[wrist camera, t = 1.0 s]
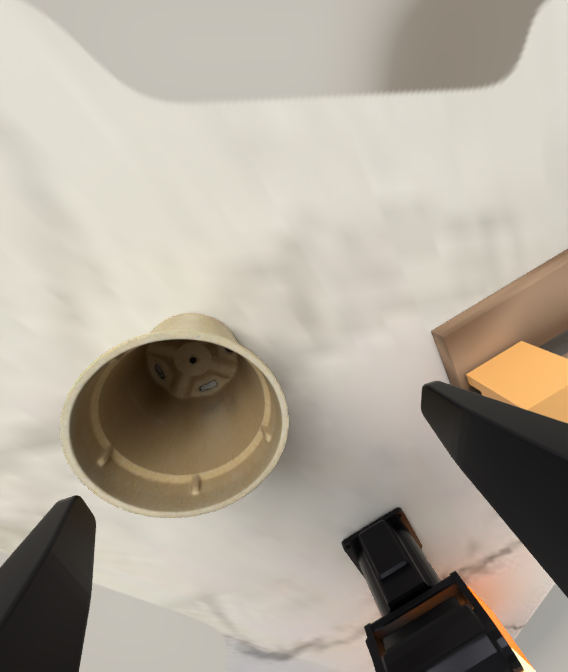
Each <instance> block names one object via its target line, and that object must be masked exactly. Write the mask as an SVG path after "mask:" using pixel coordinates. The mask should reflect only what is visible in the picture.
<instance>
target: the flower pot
mask: <svg viewBox="0 0 568 672" xmlns="http://www.w3.org/2000/svg"><path fill="white" fill-rule="evenodd" d="M225 347H226V348H228V349H230V350H232V352H231V353H229V352H227V351H226V349H225ZM191 357H195V358H196V362H195V363H191V362H190V358H191ZM156 365H159V367H160V368H161V370H164V371H163V374H164V376H165V378H164V379H162V378H161V377H160V376H159V374H158V373H157V371H156V368H155V367H156ZM213 380H214V381H216V383H217V385H216V386H215V387H214V388H210V389H206V390H204V391H201V390H200V387H201V386H203V385H205V384H207V383H210V382H212V381H213ZM288 430H289V413H288V407H287V403H286V400H285V396H284V393H283V391H282V388H281V386H280V384H279V382H278V381H277V379H276V377H275V376H274V374H273V373H272V372H271V370H270V369H269V368H268V367H267V365H266V364H265V363H264V362H263V361H262V360H261V359H260V358H259V357H257V356H256V355H255V354H253V353H252V352H251V351H249V350H248V349H246V348H245V347H243V346H241V345H240V344H238V342H237V340H236V338H235V336H234V335H233V333H232V332H231V331H230V330H229V329H228V328H227V327H226V326H225V325H224V324H223V323H221V322H220V321H218V320H216V319H214V318H211V317H208V316H205V315H201V314H196V313H189V314H181V315H176V316H173V317H171V318H168V319H166V320H165V321H163V322H162V323H160V324H159V325H158V326H157V327H155V328H154V329H153V330H152V331H151V332H150V333H149V334H145V335H142V336H139V337H136V338H133V339H130V340H128V341H125V342H123V343H121V344H119V345H117V346H115V347H114V348H112V349H110V350H109V351H107V352H106V353H104V354H103V355H102V356H100V357H99V358H98V359H97V360H95V361H94V362H93V363H92V364H91V365H90V366H89V367H88V368H87V369H86V370H85V371H84V372H83V373H82V374H81V375H80V377H79V378H78V379H77V381H76V382H75V384H74V385H73V387H72V388H71V390H70V392H69V393H68V396H67V399H66V401H65V404H64V407H63V411H62V415H61V421H60V436H61V444H62V447H63V451H64V454H65V457H66V459H67V461H68V464H69V465H70V467H71V469H72V471H73V473H74V474H75V475H76V476H77V477H78V479H79V480H80V482H81V483H83V484H84V485H85V486H87V488H88V489H89V490H91V491H92V492H93V493H94V494H96V495H97V496H99V497H100V498H102V499H103V500H105V501H106V502H108V503H110V504H112V505H114V506H116V507H117V508H121V509H123V510H126V511H129V512H133V513H135V514H141V515H144V516H150V517H160V518H181V517H191V516H198V515H201V514H206V513H209V512H213V511H216V510H219V509H221V508H224V507H226V506H228V505H230V504H232V503H234V502H235V501H237V500H239V499H240V498H242V497H244V496H245V495H247V494H248V493H250V492H251V491H252V490H254V489H255V488H256V487H257V486H258V485H259V484H260V483H261V482H262V480H263V479H265V478H266V477H267V476H268V475H269V473H270V472H271V471H272V470H273V468H274V467H275V466H276V464H277V463H278V461H279V459H280V457H281V455H282V452H283V450H284V447H285V445H286V441H287V436H288Z"/></svg>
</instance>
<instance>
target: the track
mask: <svg viewBox="0 0 568 672" xmlns="http://www.w3.org/2000/svg"><path fill="white" fill-rule="evenodd" d="M431 332H432V335H433V338H434V340H435V343H436V346H437V348H438V351H439V354H440V356H441V359H442V362H443V364H444V367H445V370H446V372H447V375H448V378H449V381H450V383H451V385H453V386H456V387H459V388H462V389H465V390H468V391H471V392H474V393H477V394H480V395H482V393H481V391H479V390H478V389H476V388H475V387H473V386H471V385H470V384H469V382H468V379H467V376H466V374H467V373H469V372H471V371H472V370H474V369H476V368H477V367H479V366H481V365H482V364H484V363H486V362H487V361H489V360H490V359H492V358H494V357H495V356H497V355H499V354H500V353H502V352H504V351H505V350H507V349H509V348H510V347H512V346H514V345H515V344H517V343H519V342H520V341H523V342H526V343H528V344H531V345H533V346H536V347H539V348H541V349H544V350H546V351H549V352H551V353H554V354H557V355H559V356H562V357H564V358H567V359H568V249H567V250H565V251H563V252H562V253H560V254H558V255H557V256H555V257H553V258H552V259H550V260H549V261H547V262H545V263H544V264H542V265H540V266H539V267H537V268H535V269H534V270H532V271H530V272H529V273H527V274H525V275H524V276H522V277H520V278H519V279H517V280H515V281H514V282H512V283H510V284H509V285H507V286H505V287H504V288H502V289H500V290H499V291H497V292H495V293H494V294H492V295H490V296H489V297H487V298H485V299H484V300H482V301H480V302H479V303H477V304H475V305H474V306H472V307H470V308H469V309H467V310H465V311H464V312H462V313H461V314H459V315H457V316H456V317H454V318H452V319H451V320H449V321H447V322H446V323H444V324H442V325H441V326H439V327H437V328H436V329H434V330H432V331H431Z"/></svg>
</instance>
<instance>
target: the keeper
mask: <svg viewBox="0 0 568 672" xmlns="http://www.w3.org/2000/svg"><path fill="white" fill-rule="evenodd" d="M466 376H467V379H468V382H469V384H470V385H471V386H473V387H475V388H476V389H478V390H479V391H481V393H482V395H483V396H486V397H489V398H492V399H495V400H498V401H501V402H504V403H507V404H510V405H514V406H517V407H520V408H523V409H526V410H529V411H532V412H535V413H538V414H541V415H544V416H547V417H550V418H553V419H556V420H559V421H562V422H565V423H568V359H567V358H564V357H562V356H559V355H557V354H554V353H551V352H549V351H546V350H544V349H541V348H539V347H536V346H533V345H531V344H528V343H526V342H523V341H520V342H519V343H517V344H515V345H514V346H512V347H510V348H509V349H507V350H505V351H504V352H502V353H500V354H499V355H497V356H495V357H494V358H492V359H490V360H489V361H487V362H486V363H484V364H482V365H481V366H479V367H477V368H476V369H474V370H472V371H471V372H469V373H467V374H466Z"/></svg>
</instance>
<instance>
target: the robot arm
mask: <svg viewBox="0 0 568 672" xmlns="http://www.w3.org/2000/svg"><path fill="white" fill-rule="evenodd" d="M421 411H422V413H423V415H424V417H425V419H426V420H427V422H428V423H429V424H430V426H431V427H432V429H433V430H434V432H435V433H436V435H437V436H438V438H439V439H440V441H441V442H442V444H443V445H444V447H445V448H446V450H447V451H448V453H449V454H450V455H451V457H452V458H453V460H454V461H455V462H456V464H457V465H458V466H459V467H460V469H461V470H462V471H463V472H464V473H465V475H466V476H467V477H468V478H469V480H470V481H471V482H472V483H473V484H474V486H475V487H476V488H477V489H478V490H479V492H480V493H481V494H482V495H483V496H484V498H485V499H486V500H487V501H488V502H489V504H490V505H491V506H492V507H493V508H494V510H495V511H496V512H497V513H498V514H499V516H500V517H501V518H502V519H503V520H504V522H505V523H506V524H507V525H508V526H509V528H510V529H511V530H512V531H513V532H514V534H515V535H516V536H517V537H518V538H519V540H520V541H521V542H522V543H523V544H524V546H525V547H526V548H527V549H528V551H529V552H530V553H531V554H532V555H533V557H534V558H535V559H536V560H537V561H538V563H539V564H540V565H541V566H542V567H543V569H544V570H545V571H546V572H547V573H548V575H549V576H550V577H551V578H552V579H553V581H554V582H555V583H556V584H557V585H558V587H559V588H560V589H561V590H562V591H563V593H564V594H565V595H566V596H567V597H568V423H565V422H562V421H559V420H556V419H553V418H550V417H547V416H544V415H541V414H538V413H535V412H532V411H529V410H526V409H523V408H520V407H517V406H514V405H510V404H507V403H504V402H501V401H498V400H495V399H492V398H489V397H486V396H483V395H480V394H477V393H474V392H471V391H468V390H465V389H462V388H459V387H456V386H453V385H450V384H447V383H444V382H440V381H433V382H430V383H427V384H425V385H423V387H422V396H421ZM95 533H96V521H95V518H94V515H93V514H92V512H91V511H90V509H89V508H88V506H87V505H86V503H85V502H84V501H83V499H82V498H81V497H80V496H78V495H77V496H72V497H69V498H66V499H62V500H60V501H58V502H57V503H56V504H55V505H54V506H53V507H52V508H51V510H50V511H49V512H48V513H47V514H46V515H45V516H44V518H43V519H42V520H41V521H40V522H39V523H38V524H37V526H36V527H35V528H34V529H33V530H32V531H31V533H30V534H29V535H28V536H27V537H26V538H25V539H24V541H23V542H22V543H21V544H20V545H19V546H18V548H17V549H16V550H15V551H14V552H13V553H12V554H11V556H10V557H9V558H8V559H7V560H6V562H5V563H4V564H3V565H2V566H1V567H0V672H79V667H80V661H81V655H82V649H83V643H84V637H85V630H86V625H87V619H88V613H89V607H90V600H91V591H92V579H93V564H94V548H95ZM342 546H343V549H344V550H345V552H346V553H347V554H348V556H349V557H350V559H351V560H352V561H353V563H354V564H355V565H356V567H357V568H358V569H359V571H360V572H361V574H362V575H363V576H364V578H365V579H366V581H367V584H368V586H369V588H370V590H371V593H372V595H373V597H374V600H375V602H376V604H377V607H378V609H379V611H380V613H381V616H382V617H381V618H380V619H378V620H377V621H375V622H373V623H372V624H370V623H369V624H367V625H366V626H364V628H365V631H366V634H367V639H366V644H367V647H368V649H369V652H370V655H371V658H372V660H373V663H374V667H375V671H376V672H523V671H524V669H523V667H522V665H521V663H520V661H519V660H518V658H517V656H516V655H515V653H514V652H513V650H512V649H511V647H510V645H509V644H508V642H507V641H506V639H505V638H504V636H503V635H502V634H501V632H500V631H499V629H498V628H497V626H496V625H495V623H494V622H493V621H492V619H491V618H490V616H489V615H488V614H487V612H486V611H485V610H484V608H483V607H482V606H481V604H480V603H479V602H478V600H477V599H476V598H475V596H474V595H473V594H472V592H471V591H470V590H469V588H468V587H467V586H466V584H465V583H464V582H463V580H462V579H461V578H460V576H459V575H458V574H457V572H456V571H454V572H452V573H451V574H450V576H449V577H447V578H445V579H444V580H442V581H441V580H440V579H439V577H438V575H437V574H436V572H435V571H434V569H433V568H432V566H431V565H430V563H429V561H428V560H427V558H426V557H425V555H424V554H423V552H422V550H421V549H422V545H421V543H420V541H419V539H418V538H417V536H416V534H415V532H414V530H413V529H412V527H411V525H410V523H409V521H408V520H407V518H406V516H405V514H404V513H403V511H402V510H401V509H400V508H396V509H394V510H393V511H391V512H389V513H388V514H386V515H384V516H383V517H381V518H380V519H378V520H376V521H375V522H373V523H371V524H370V525H368V526H366V527H365V528H363V529H361V530H360V531H358V532H357V533H355V534H353V535H352V536H350V537H348V538H347V539H345V540H344V541H343V542H342Z"/></svg>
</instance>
